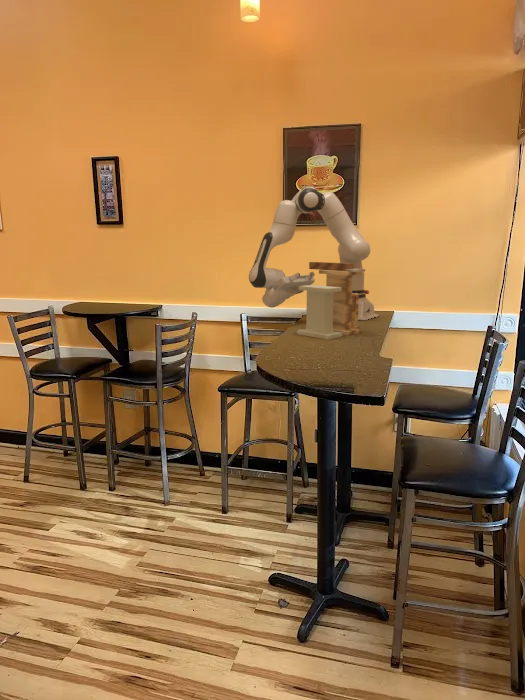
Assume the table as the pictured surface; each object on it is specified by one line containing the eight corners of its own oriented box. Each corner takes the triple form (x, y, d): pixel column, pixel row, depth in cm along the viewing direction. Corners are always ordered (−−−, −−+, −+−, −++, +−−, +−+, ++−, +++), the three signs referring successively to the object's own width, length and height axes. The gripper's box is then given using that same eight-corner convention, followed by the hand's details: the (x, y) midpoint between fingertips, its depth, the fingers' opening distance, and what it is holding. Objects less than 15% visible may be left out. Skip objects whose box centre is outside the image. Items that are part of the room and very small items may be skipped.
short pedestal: (311, 331, 229) (312, 284, 225) (342, 336, 217) (343, 287, 213) (296, 333, 223) (297, 286, 219) (327, 339, 211) (328, 289, 207)
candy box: (358, 327, 238) (359, 293, 235) (355, 329, 234) (356, 294, 231) (339, 326, 242) (340, 292, 239) (336, 327, 238) (337, 293, 235)
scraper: (306, 269, 232) (306, 262, 231) (316, 268, 236) (316, 261, 235) (356, 272, 212) (356, 264, 212) (365, 271, 216) (365, 263, 216)
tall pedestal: (329, 327, 237) (331, 269, 232) (360, 332, 225) (362, 270, 219) (316, 330, 231) (317, 270, 226) (346, 335, 219) (348, 271, 213)
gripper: (268, 283, 241) (287, 268, 231) (300, 280, 254) (318, 266, 244) (273, 295, 240) (292, 281, 230) (304, 292, 253) (323, 278, 243)
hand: (306, 273), depth 237 cm, fingers open, 8 cm apart
